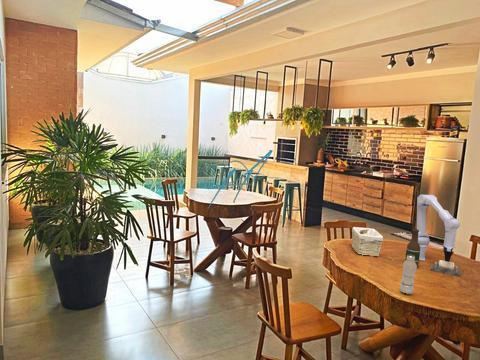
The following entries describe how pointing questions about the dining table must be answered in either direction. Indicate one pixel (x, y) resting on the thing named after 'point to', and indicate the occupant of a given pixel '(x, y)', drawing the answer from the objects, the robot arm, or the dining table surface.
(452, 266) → the paper roll
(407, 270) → the plastic bottle
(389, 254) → the dining table surface
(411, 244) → the beer bottle
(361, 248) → the storage basket
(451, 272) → the roll cradle
